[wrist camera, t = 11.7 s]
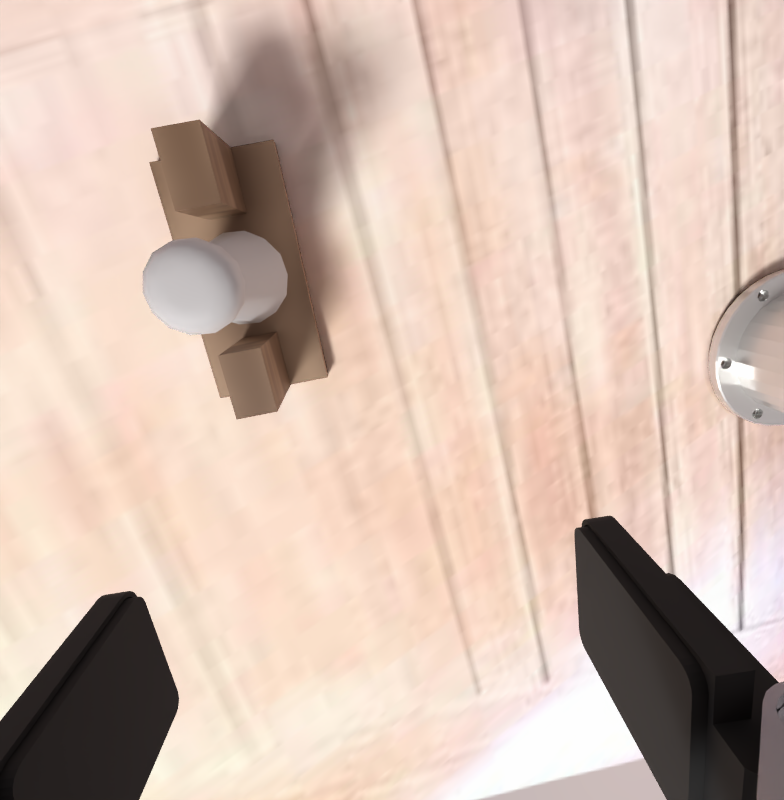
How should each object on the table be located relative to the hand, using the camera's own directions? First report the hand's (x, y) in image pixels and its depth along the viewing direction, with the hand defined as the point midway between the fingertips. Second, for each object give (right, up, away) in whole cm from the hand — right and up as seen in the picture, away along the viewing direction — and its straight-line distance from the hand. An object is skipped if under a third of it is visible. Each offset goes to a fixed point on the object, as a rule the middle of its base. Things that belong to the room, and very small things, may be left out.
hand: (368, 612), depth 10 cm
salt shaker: (-9, +13, +23) cm, 28 cm away
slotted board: (-10, +13, +24) cm, 29 cm away
